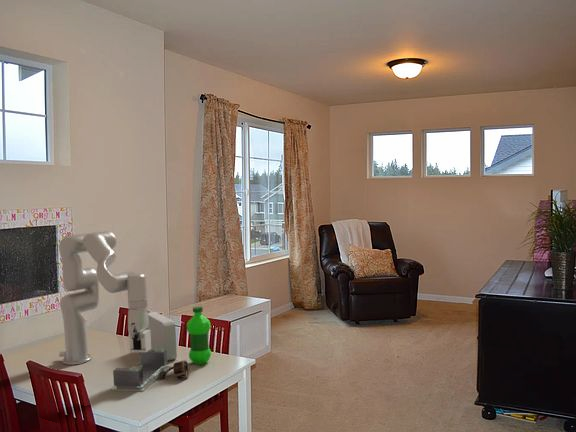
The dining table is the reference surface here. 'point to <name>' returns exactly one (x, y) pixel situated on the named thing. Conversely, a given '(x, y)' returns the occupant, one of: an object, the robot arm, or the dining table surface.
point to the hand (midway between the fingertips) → (140, 346)
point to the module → (142, 341)
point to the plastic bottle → (199, 337)
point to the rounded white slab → (162, 334)
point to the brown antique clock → (177, 370)
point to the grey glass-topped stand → (141, 372)
